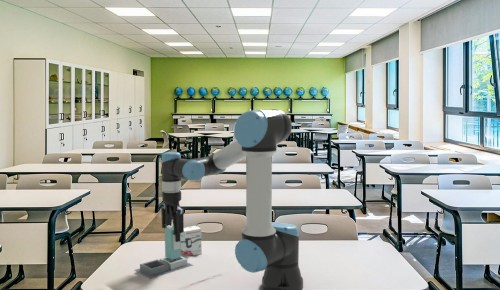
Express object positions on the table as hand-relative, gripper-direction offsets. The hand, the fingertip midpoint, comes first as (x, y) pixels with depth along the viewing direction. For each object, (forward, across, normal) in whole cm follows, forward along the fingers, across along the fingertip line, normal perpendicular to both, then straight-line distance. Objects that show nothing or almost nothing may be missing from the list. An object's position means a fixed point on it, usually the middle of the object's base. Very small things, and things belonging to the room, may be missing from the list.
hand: (172, 247), depth 188 cm
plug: (+4, 0, 0) cm, 4 cm away
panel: (+8, 0, +4) cm, 10 cm away
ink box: (+9, +8, -14) cm, 19 cm away
